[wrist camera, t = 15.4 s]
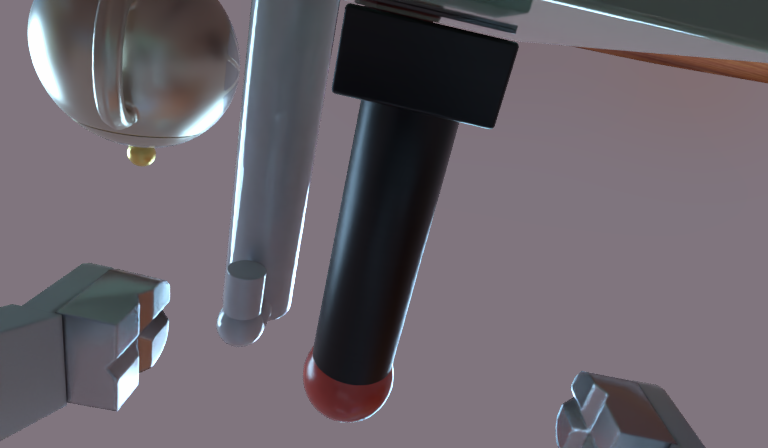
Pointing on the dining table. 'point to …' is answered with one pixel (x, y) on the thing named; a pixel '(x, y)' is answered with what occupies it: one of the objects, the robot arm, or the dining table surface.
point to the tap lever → (392, 188)
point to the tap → (307, 90)
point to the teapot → (137, 67)
